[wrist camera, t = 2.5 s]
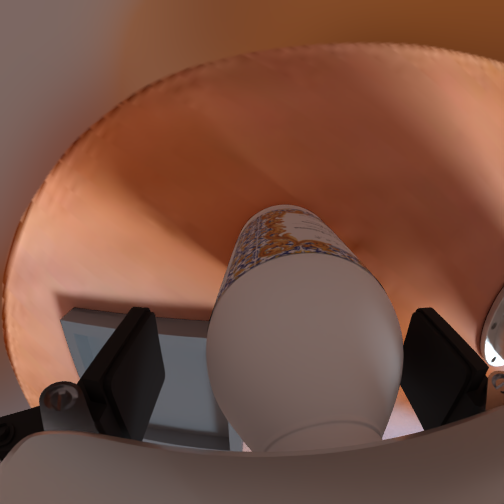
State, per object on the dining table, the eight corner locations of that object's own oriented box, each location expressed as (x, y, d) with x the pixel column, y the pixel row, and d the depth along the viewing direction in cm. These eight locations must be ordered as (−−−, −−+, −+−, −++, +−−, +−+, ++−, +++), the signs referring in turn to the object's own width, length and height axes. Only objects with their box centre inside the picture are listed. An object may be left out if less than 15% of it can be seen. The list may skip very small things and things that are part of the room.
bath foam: (347, 228, 21) (563, 466, 1) (304, 307, 23) (359, 586, 3) (260, 186, 20) (206, 541, 1) (221, 273, 22) (121, 570, 3)
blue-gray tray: (242, 322, 23) (240, 339, 21) (243, 440, 28) (241, 457, 25) (74, 307, 24) (60, 319, 21) (112, 420, 28) (105, 434, 26)
